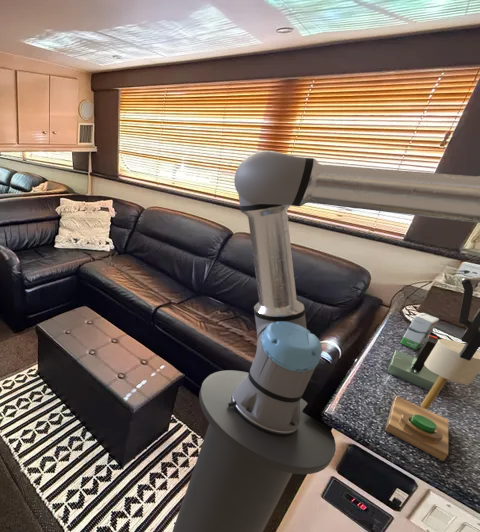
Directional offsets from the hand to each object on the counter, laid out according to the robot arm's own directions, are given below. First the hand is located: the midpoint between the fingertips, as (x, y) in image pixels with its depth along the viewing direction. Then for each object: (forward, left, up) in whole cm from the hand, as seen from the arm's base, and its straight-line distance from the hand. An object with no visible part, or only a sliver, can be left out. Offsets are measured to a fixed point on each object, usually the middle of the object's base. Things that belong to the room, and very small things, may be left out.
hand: (464, 356), depth 70 cm
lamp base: (+1, +1, -23) cm, 23 cm away
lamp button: (-1, -3, -19) cm, 19 cm away
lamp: (+3, +6, -19) cm, 20 cm away
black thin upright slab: (+15, +30, -19) cm, 39 cm away
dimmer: (+15, +30, -23) cm, 41 cm away
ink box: (+27, +54, -23) cm, 65 cm away
